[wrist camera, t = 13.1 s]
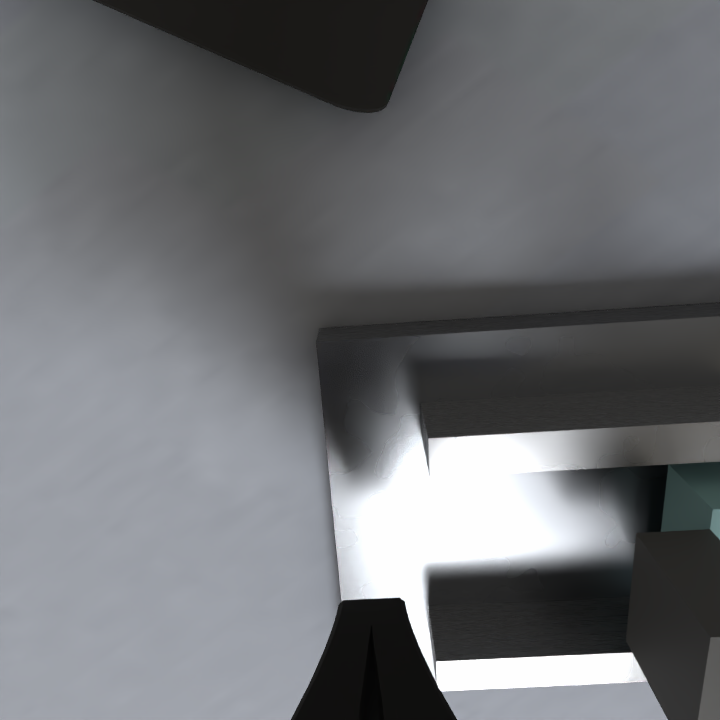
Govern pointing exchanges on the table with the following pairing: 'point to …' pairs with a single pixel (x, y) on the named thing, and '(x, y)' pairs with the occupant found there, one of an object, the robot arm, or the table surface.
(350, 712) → the robot arm
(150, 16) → the smart home device
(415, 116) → the table surface
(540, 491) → the press bed
